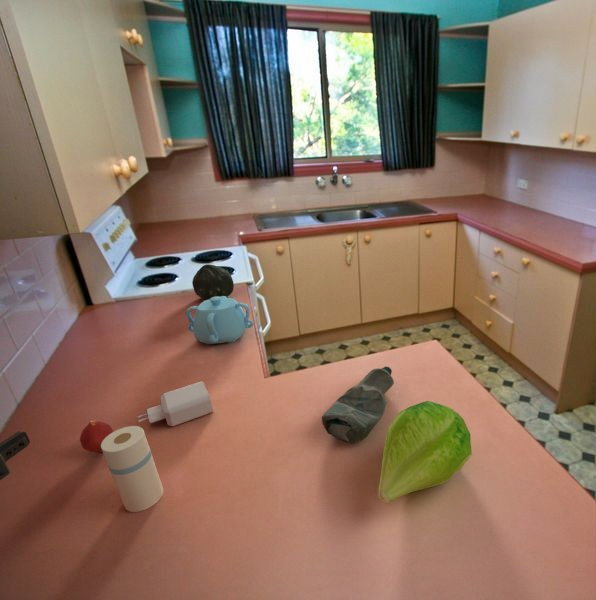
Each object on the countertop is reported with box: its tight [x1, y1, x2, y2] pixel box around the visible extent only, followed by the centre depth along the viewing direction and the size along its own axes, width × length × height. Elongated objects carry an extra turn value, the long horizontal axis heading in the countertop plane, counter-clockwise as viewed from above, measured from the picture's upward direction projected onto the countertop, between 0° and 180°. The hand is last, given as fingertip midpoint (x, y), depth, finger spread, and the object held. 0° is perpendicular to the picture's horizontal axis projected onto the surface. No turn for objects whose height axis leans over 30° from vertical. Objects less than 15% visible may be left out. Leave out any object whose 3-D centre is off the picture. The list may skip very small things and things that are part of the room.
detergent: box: [321, 366, 395, 444], centre depth 99 cm, size 13×7×25 cm
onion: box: [79, 420, 115, 453], centre depth 89 cm, size 6×6×8 cm
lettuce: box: [378, 400, 473, 504], centre depth 79 cm, size 15×22×15 cm
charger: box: [137, 380, 214, 427], centre depth 100 cm, size 5×9×15 cm
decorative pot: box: [185, 296, 254, 345], centre depth 134 cm, size 16×16×14 cm
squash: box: [191, 263, 235, 302], centre depth 165 cm, size 14×15×15 cm
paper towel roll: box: [101, 425, 164, 513], centre depth 76 cm, size 6×6×14 cm
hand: (0, 432), depth 57 cm, fingers open, 8 cm apart
